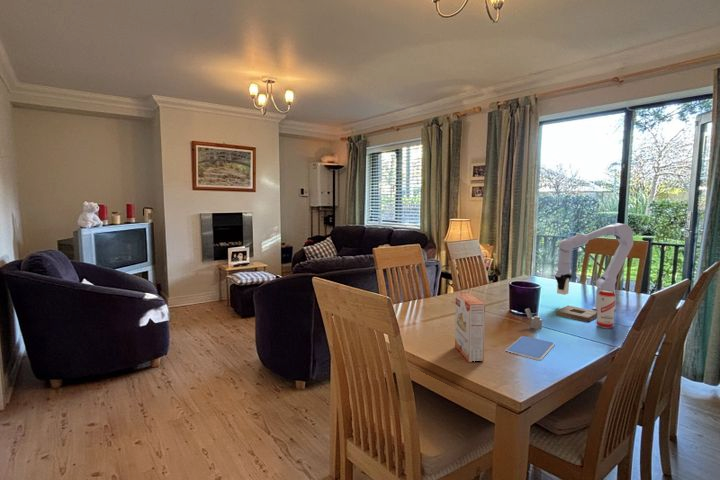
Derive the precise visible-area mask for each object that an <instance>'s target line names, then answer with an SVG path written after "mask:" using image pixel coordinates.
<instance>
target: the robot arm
mask: <svg viewBox="0 0 720 480" xmlns="http://www.w3.org/2000/svg"><path fill="white" fill-rule="evenodd" d="M633 234H634V231H633V229H632V228H631V226H630V225H628V224H627V223H626V224H625V223H620V222H616V223H613V224H607V225H606V226H603V227H600V228H598V229H596V230H593V231H591V232H589V233H586V234H585V233H582V232H581V233H580V232H578V233H576V235H574V236H571V237H569V236H568V237H567V238H566V239H560V241H559V242H558V244H557V247H558V255H557V256H558V257H557V259H558V261H557V269H555V275H554V278H555V280H556V284H558V288H559V289H560V290H563V289H564V286H565V282H566V279H567V278H569V282H570V281H571V280H572V277H573V274H572V270H573V269H571V267H572V266H571V264H572V250H573V249H576V248H578V247H581V246H585V245H587V244H588V243H589V242H590V241H591V240H593V239H597V238H601V237H603V236H606V235H610V236H613V237H615V238H616V240H617V241H618V243H619V244H618V247H617V248H616V250H615V252H614V254H613V255H612V257H611V260H610V262H609V264H608V266H607V267H606V269H605V271H604V272H603V273H602V274H601V275H600V276H599V278H597V279H596V281H595V287H596V288H597V289H596V292H595V303H594V304H595V305H594V306H593V307H592V308H591V310H594V311H597V308H598V294H599V292H600V290H612V291H614V292H615V290H616V283H617V276H618V275H619V273H620V271H621V269H622V268H623V265H624V263H625V261H626V259H627V257H628V255H629V254H630V252H631V250H632V248H633V247H634V243H635V242H634V236H633ZM616 309H617V308H616V307H615V310H616Z"/></svg>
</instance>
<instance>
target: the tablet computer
mask: <svg viewBox="0 0 720 480" xmlns="http://www.w3.org/2000/svg"><path fill="white" fill-rule="evenodd" d="M554 347H555V342H553V341H548V340H545V339H538V338H535V337H531V336H530V337H529V336H525V335H521V336H520V337H519V338H518V339H517V340H515V341H514V342H513V343H512V344H511V345H509V347H507V348H506V349H505V352H506V351H508V352H507V353H509V352H511V353H510V354H512V353H515V354H514V355H516V354H518V355H517V356H520V355H521V357H525V358H528V359H533V360H536V361H542V360H543V359H544V358H545V357H546V355H547V354H548V353H549V352H550V351H551V350H552V349H553V348H554Z"/></svg>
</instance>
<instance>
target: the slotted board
mask: <svg viewBox="0 0 720 480" xmlns="http://www.w3.org/2000/svg"><path fill="white" fill-rule="evenodd" d="M555 315H556V316H560V317H563V318H564V317H565V318H569V319H573V320H578V321H581V322H582V321H583V322H587V323H589V322H591V321H592V320H594V319H595V318H596V319H597V310H594V309H588V308H583V307H578V306H573V305H566V306H564V307H561V308H559V309H557V310H556V311H555Z"/></svg>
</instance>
